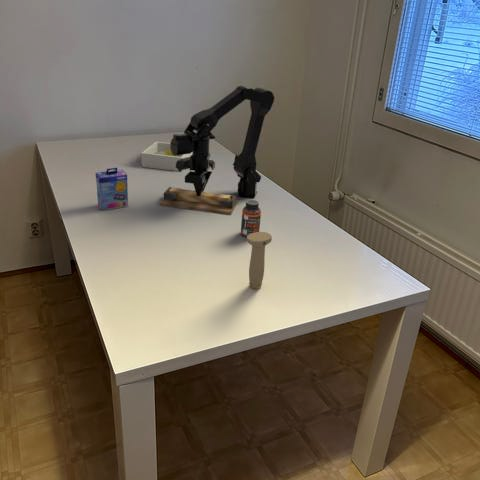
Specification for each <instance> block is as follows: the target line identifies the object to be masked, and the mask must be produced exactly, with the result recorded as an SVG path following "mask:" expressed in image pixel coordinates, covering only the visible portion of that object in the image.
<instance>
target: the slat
mask: <svg viewBox="0 0 480 480" xmlns="http://www.w3.org/2000/svg"><path fill="white" fill-rule="evenodd" d="M177 188H178V187H172V188H171V189H170V190H169V193H175V194H177V199H178V200H185V201H193V202H200V203H208V204H215V205H220V199H221V200H229V201H230V197H231V195H232V194H227V195H224V194H223V193H222V194H221V193H215V192H208V191H207V192H206V191H203V192H202V193H201V195H200V196H197V194H196V191H195V190H194V189H193V190H192V189H183V188H180V189H177Z"/></svg>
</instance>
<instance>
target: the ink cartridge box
mask: <svg viewBox="0 0 480 480" xmlns="http://www.w3.org/2000/svg"><path fill="white" fill-rule="evenodd" d="M95 181H96V183H95V184H96V195H97V206H98V207H99V209H100V211H106V210H113V209H121V208H128V207H129V197H128V196H129V193H128V192H129V191H128V187H129V186H128V174H127V172H125V170H124V169H118V167H112V168H106V170H104V171H98V172H95Z"/></svg>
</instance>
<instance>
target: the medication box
mask: <svg viewBox="0 0 480 480" xmlns="http://www.w3.org/2000/svg"><path fill="white" fill-rule="evenodd" d="M153 154H160V155H168V156H175V155H173V154H172V151H171V149H170V150H166V151H162V152H157V153H153Z"/></svg>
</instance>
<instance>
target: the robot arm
mask: <svg viewBox="0 0 480 480" xmlns="http://www.w3.org/2000/svg"><path fill="white" fill-rule="evenodd" d="M246 100H247V101H249V106H250V110H251V113H250V114H251V115H250V119H249V122H248V126H247V131H246V135H245V137H244V138H245V139H244V143H243V147H242V151H241V152H240V153H239V154H235V156H234V161H233V164H232V165H233V171H234V172H235V173H236V175H237V176H236V177H238V178H240V179H239V181H238V182H237V197H241V198H249V199H255V198H256V195H257V194H258V191H257V187H258V183H260V182H261V180H262V176H261V175H260V174H259V172H258V171H257V157H256V153H257V149H258V145H259V141H260V136H261V133H262V128H263V126H264V123H265V122H264V121H265V117H266V115H267V114H269V112H270V111H271V109H272V107H273V104H274V101H275V95H274V93H273V92H272V91H270V90H268V89H265V88H262V87H255V88H251V87H247V86H244V85H239V86H237V87H236V88H235V89H234V90H233V91H232V92H230V93H229V94H227V95H226V96H225V97H224V98H222V99H221V100H220V101H218V102H217V103H215V104H214V105H213V106H212V107H210V108H207V109H204V110H201V111H199V112H197V113H195V114H193V115H192V116H191V118H190V122H189V123H188V125H187V126H186V128H185V130H184V131H183V133H181V134H178V133H175V134H172V138H171V140H170V142H169V143H170V148H171V151H172V154H173V155H175V156H176V155H183V154H190V153H191V152H193V154H192V155H191V156H190V157H187V158H183V159H180V160H178V161H177V162H176V168H177V169H178V170H179V171H178V172H181V171H182V170H183V171H184V170H188V169H189V172H188V173H187V174H186V175H185V176H184V183H186V184H193V188H194V191H196V194H197V196H200V195H201V193H202V192H205V189H206V186H207V185H208V183H209V180H210V178H211V175H212V173H213V171H214V170H215V168H216V162H215V161H214V159H213V160H211V159H210V157H211V153H210V140H215V139H216V136H215V135H214V134H213V133H212V131H213V130H214V129H215V127H216V126H217V124H218V123H219V121H220V120H221V119H222V118H223V117H225V116H226V115H227V114H229V113H230V112H231V111H232V110H234V109H235V108H236V107H238V106H240V104H242V103H243V102H245V101H246ZM210 168H211V171H210ZM183 171H182V172H183Z"/></svg>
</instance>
